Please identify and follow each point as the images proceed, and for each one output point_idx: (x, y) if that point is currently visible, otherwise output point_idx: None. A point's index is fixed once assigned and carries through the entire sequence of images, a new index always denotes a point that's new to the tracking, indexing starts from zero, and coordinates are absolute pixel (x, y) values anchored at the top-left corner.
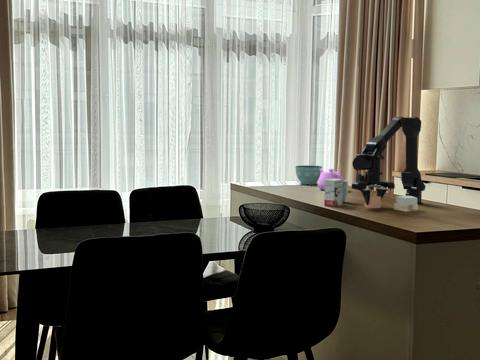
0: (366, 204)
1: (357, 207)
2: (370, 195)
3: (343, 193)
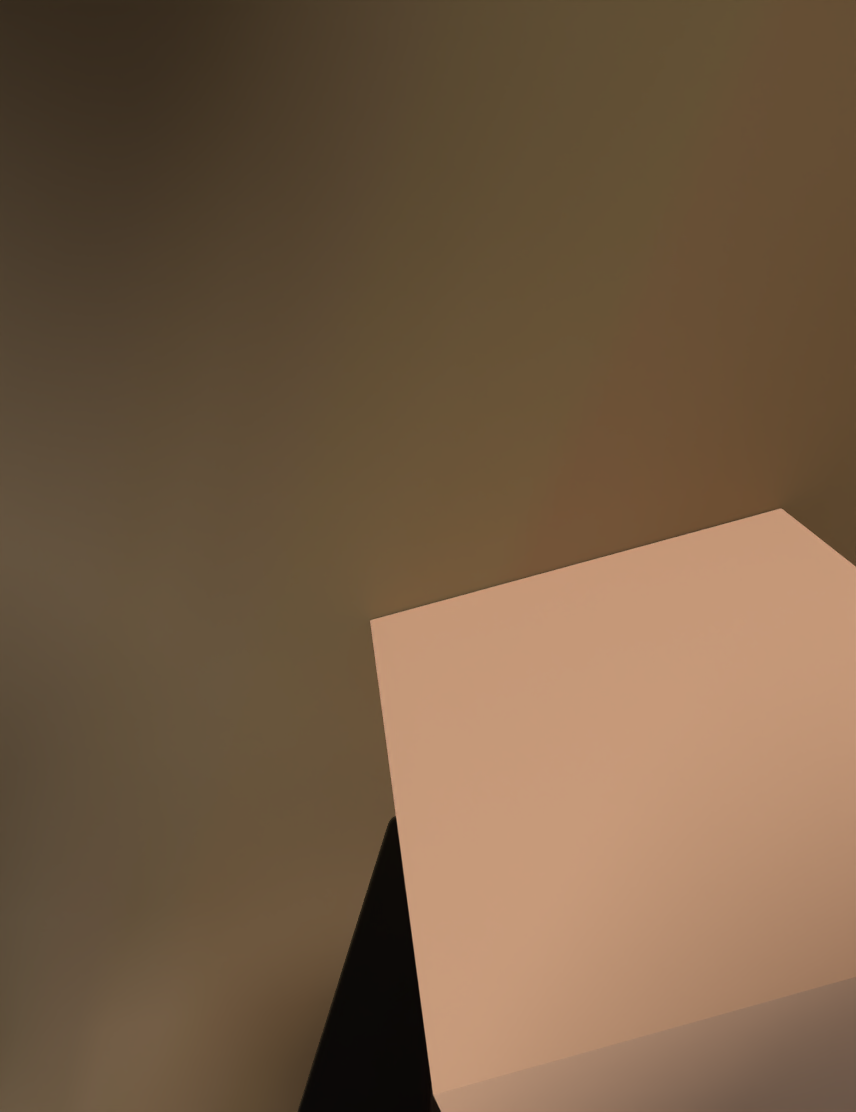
0: (390, 848)
1: (63, 772)
2: (842, 1020)
3: None
